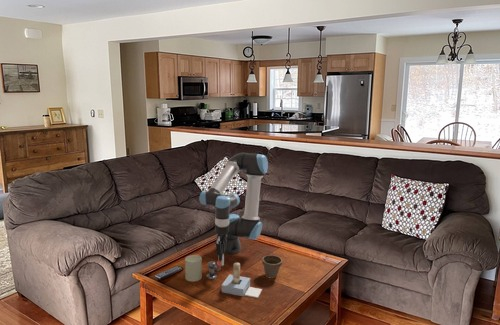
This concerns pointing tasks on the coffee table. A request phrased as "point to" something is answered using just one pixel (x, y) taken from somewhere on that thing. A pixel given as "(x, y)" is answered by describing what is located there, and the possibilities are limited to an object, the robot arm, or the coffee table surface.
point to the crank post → (211, 274)
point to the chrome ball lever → (213, 265)
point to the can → (193, 267)
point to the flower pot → (271, 265)
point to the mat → (253, 292)
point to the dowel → (236, 273)
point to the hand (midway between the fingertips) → (220, 264)
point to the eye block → (236, 286)
